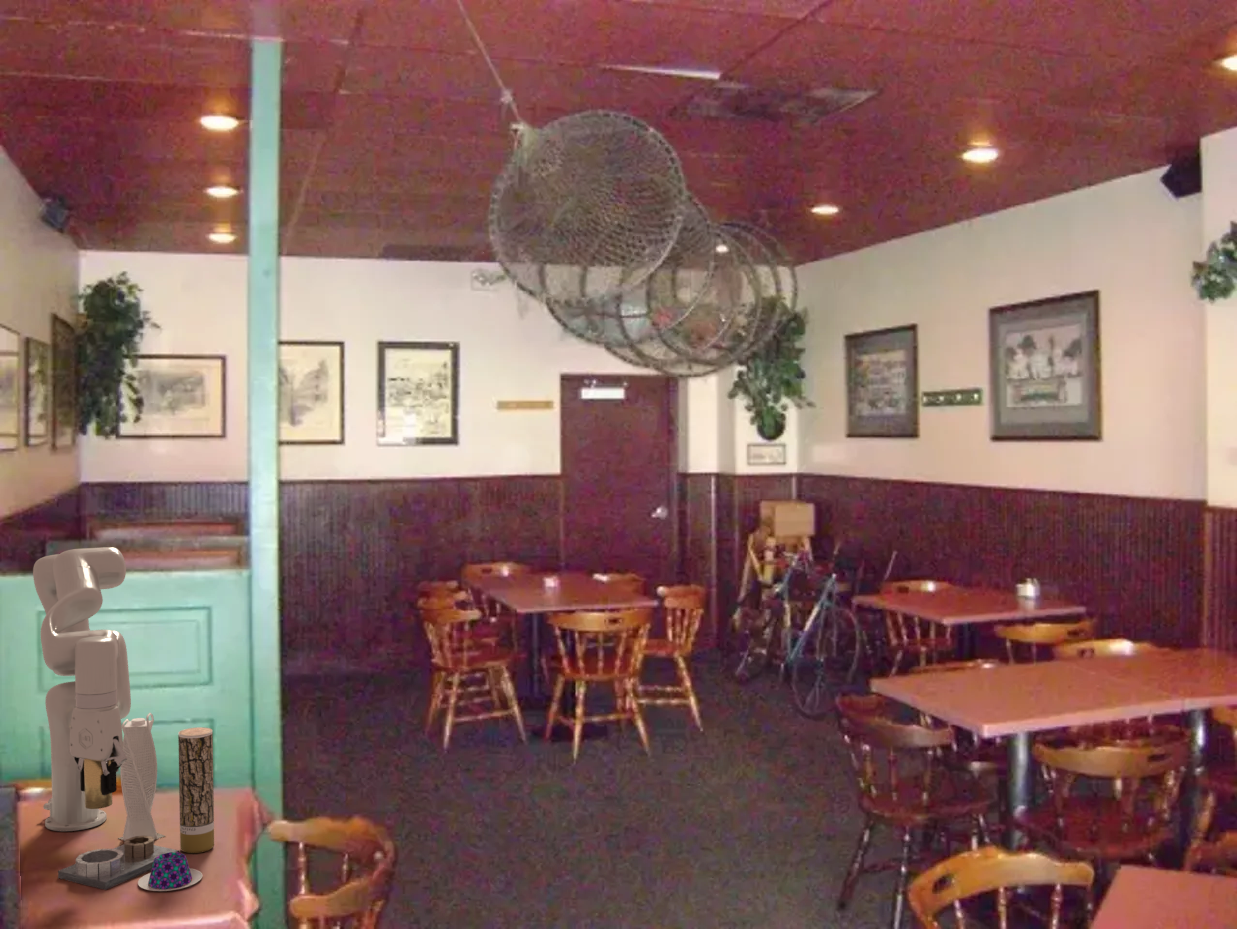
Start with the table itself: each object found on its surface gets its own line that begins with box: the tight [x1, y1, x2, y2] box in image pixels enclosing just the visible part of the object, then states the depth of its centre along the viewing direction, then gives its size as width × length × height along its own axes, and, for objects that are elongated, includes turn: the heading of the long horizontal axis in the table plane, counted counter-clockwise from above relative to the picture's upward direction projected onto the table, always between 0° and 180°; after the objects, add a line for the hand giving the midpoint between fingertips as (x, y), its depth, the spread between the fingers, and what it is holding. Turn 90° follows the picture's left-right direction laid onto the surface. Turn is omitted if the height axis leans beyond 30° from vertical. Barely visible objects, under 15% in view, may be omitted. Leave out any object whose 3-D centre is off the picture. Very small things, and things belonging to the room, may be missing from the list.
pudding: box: [137, 851, 203, 892], centre depth 250 cm, size 12×12×5 cm
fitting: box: [84, 759, 113, 810], centre depth 251 cm, size 5×5×10 cm
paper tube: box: [177, 726, 215, 854], centre depth 267 cm, size 7×7×25 cm
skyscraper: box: [117, 712, 166, 842], centre depth 273 cm, size 8×8×28 cm
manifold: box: [57, 836, 180, 891], centre depth 257 cm, size 13×19×4 cm
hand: (98, 790), depth 252 cm, fingers closed on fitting, 5 cm apart
